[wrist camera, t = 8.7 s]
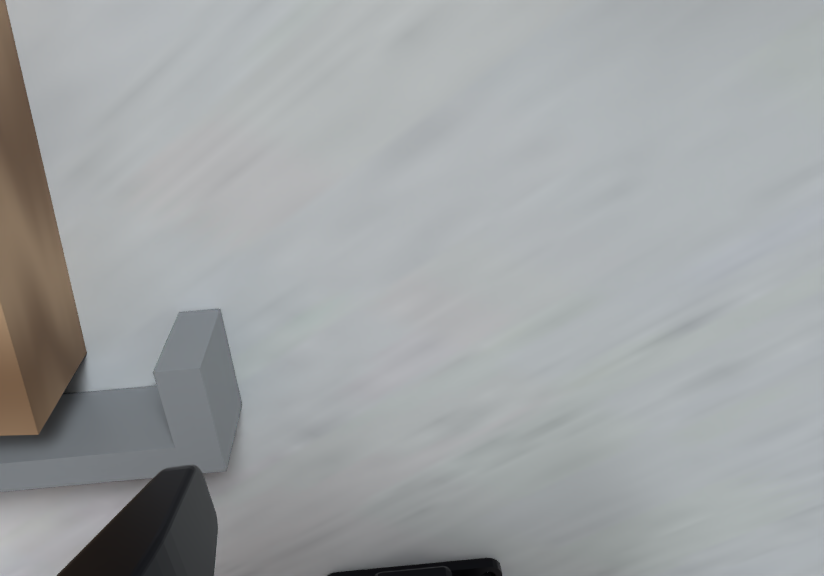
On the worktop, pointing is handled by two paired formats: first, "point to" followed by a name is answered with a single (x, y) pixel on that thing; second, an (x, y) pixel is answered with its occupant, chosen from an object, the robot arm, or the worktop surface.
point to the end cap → (138, 419)
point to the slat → (29, 267)
